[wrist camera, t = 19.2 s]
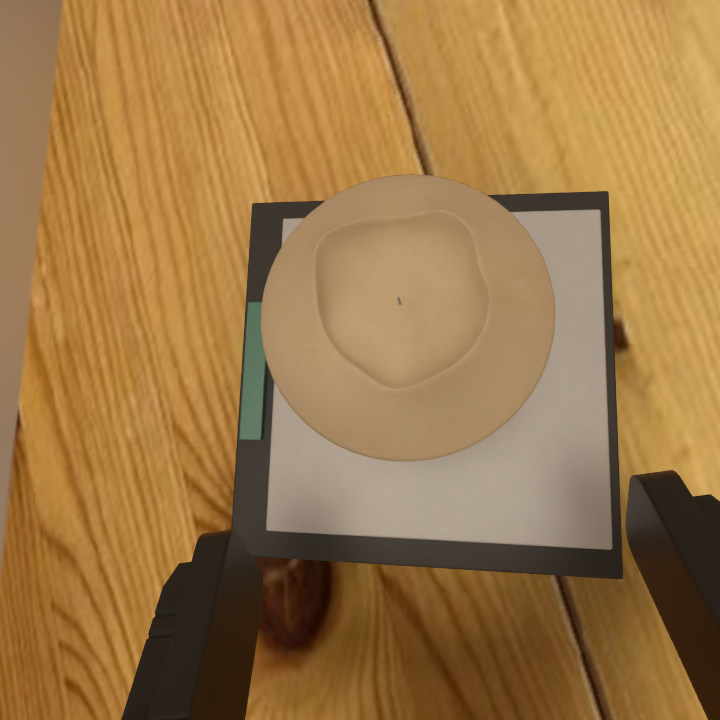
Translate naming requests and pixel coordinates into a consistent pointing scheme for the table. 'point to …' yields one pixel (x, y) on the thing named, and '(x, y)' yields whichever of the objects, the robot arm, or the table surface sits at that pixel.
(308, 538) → the scale
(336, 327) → the candle
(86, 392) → the table surface
